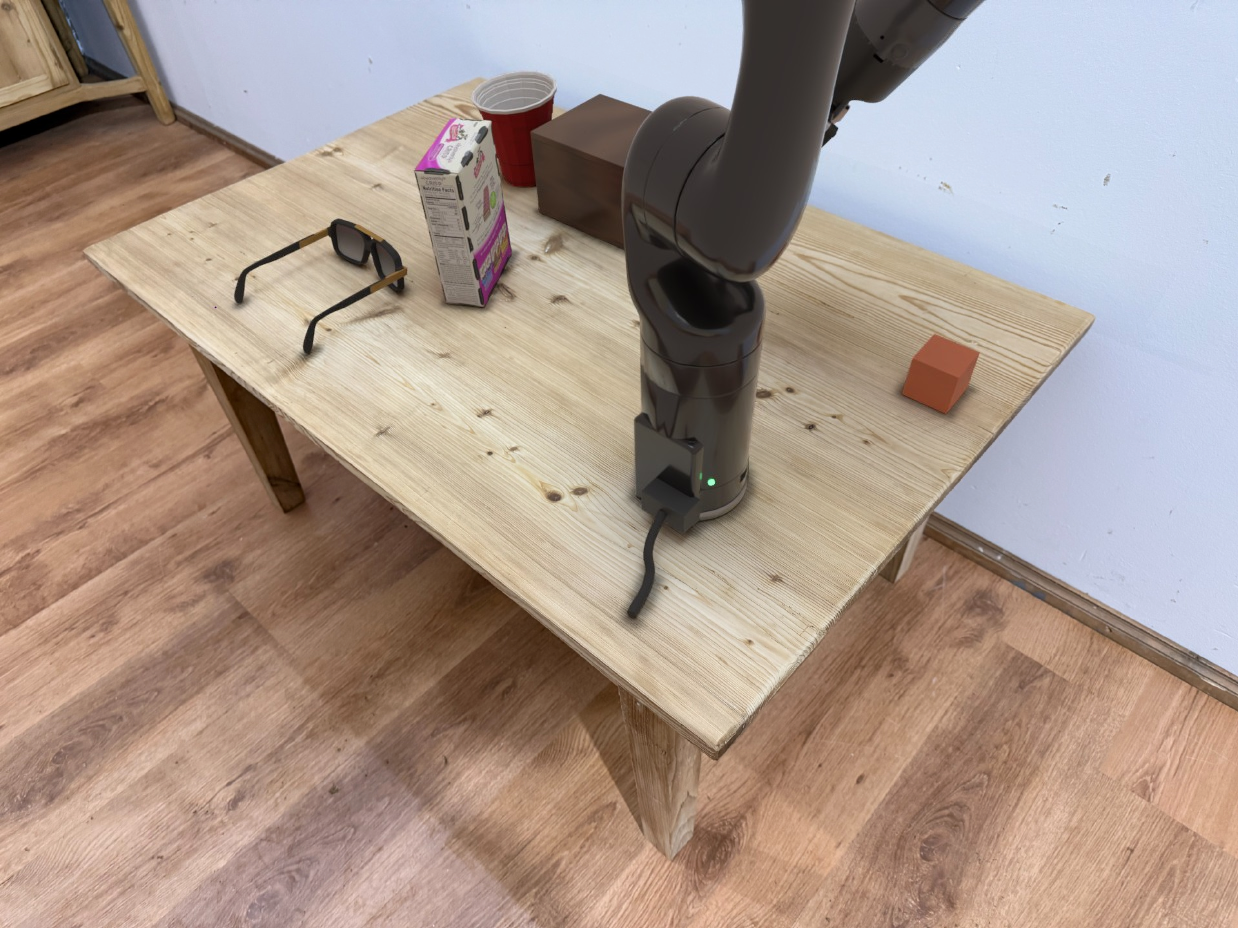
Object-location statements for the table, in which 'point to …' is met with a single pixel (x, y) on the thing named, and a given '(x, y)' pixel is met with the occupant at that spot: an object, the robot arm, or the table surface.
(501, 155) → the plastic cup
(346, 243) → the sunglasses
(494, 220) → the candy bar box
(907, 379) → the block
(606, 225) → the dark wooden cube
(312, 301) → the table surface
